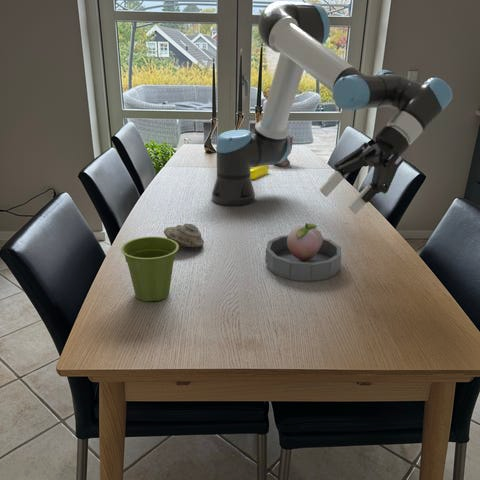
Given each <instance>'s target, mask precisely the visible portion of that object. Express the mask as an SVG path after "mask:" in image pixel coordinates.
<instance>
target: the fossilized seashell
mask: <svg viewBox="0 0 480 480" xmlns="http://www.w3.org/2000/svg"><path fill="white" fill-rule="evenodd" d="M163 233H164V235H165V238H169V239H172V240H173V241H175V242H177V243H178V245H179V247H180V246H181V247H186V248H199V247H203V246H204V243H205V241H204V239H203V237H202V233H201V231H200V229H199V228H198V227H197V226H196V225H194V224H193V223H184V224H178V225H176V226H170V227H166V228H165V229H164V230H163Z"/></svg>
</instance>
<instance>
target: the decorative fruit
mask: <svg viewBox="0 0 480 480" xmlns="http://www.w3.org/2000/svg"><path fill="white" fill-rule="evenodd" d="M317 227H318V226H317V225H316V224H314V223H311V222H310V223H307V222H306V223H305V225H298V226H296V227H294V228H293V229H292V230H291V231H290V232H289V234H287V235H288V238H287V246H288V249H289V251H290V252H291V253H292V254H293V255H294V256H295V257H296V258H298V259H300V260H303V261H307V260H310V259H311V258H313V257H314V256H315V255H316V254H317V252H318V251H319V250H320V247H321V245H322V242H323V238H324V237H323V234H322V233H321V231H320V230H319V229H318V228H317Z"/></svg>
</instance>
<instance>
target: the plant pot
mask: <svg viewBox="0 0 480 480" xmlns="http://www.w3.org/2000/svg"><path fill="white" fill-rule="evenodd" d="M179 248H180V245H178V243H177V242H175V241H173V240H172V239H169V238H167V237H162V236H141V237H138V238H133V239H131V240H128V241H125V243H123V244H122V246H121V247H120V252H121V254H122V255H124V258H125V262H126V263H127V267H128V270H129V275H130V279H131V283H132V286H133V290H134V291H133V292H134V294H135V297H136V298H137V299H138V300H140V301H142V302H159V301H162V300H164V299H166V298H167V297H168V296H169V294H170V291H171V283H172V275H173V268H174V263H175V262H174V261H175V260H176V256H177V255H176V254H177V252H178V251H179Z"/></svg>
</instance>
